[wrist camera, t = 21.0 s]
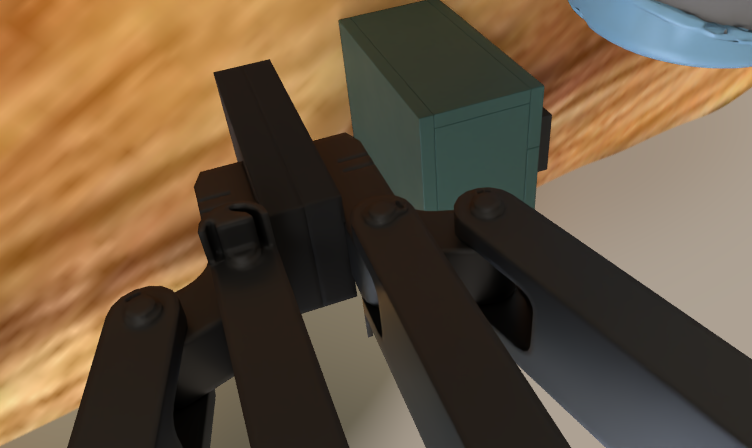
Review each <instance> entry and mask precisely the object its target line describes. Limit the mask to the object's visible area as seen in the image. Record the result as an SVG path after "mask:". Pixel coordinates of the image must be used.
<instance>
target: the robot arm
mask: <svg viewBox="0 0 752 448" xmlns="http://www.w3.org/2000/svg"><path fill="white" fill-rule="evenodd" d="M568 2H569V4H570V5H571V7H572V9H573V10H574V11H575V12H576V13H577V14H578V15H579V16H580V17H581V18H583V19H584V20H585V21H586V22H587V24H588V26H589V27H590V28H591V29H592V30H593V31H595V32H596V33H597V34H599V35H600V36H602V37H603V38H605V39H607V40H608V41H610V42H612V43H614V44H616V45H618V46H620V47H622V48H624V49H626V50H629V51H631V52H634V53H636V54H639V55H642V56H645V57H649V58H652V59H656V60H660V61H664V62H669V63H674V64H679V65H685V66H692V67H703V68H744V67H752V0H568ZM213 73H214V76H215V80H216V84H217V87H218V91H219V95H220V99H221V102H222V106H223V110H224V113H225V117H226V121H227V124H228V128H229V132H230V135H231V139H232V143H233V146H234V150H235V154H236V157H237V161H238V162H237V163H233V164H229V165H225V166H222V167H218V168H214V169H210V170H206V171H203V172H200V174H199V176H198V178H197V181H196V183H195V185H194V189H195V193H196V198H197V202H198V207H199V211H200V215H201V221H200V223H199V227H198V234H199V237H200V240H201V243H202V246H203V248H204V251H205V254H206V257H207V260H208V264H207V267H206V268H205V270H204V271H203V273H202V274H201V275H200V276H199V277H198V278H197V279H196V280H195V281H193V282H192V283H190V284H189V285H187V286H186V287H184V288H182V289H180V290H178V291H177V292H175V293H174V292H173V290H171V289H168V288H165V287H163V286H148V287H144V288H140V289H136V290H134V291H132V292H130V293H128V294H126V295H124V296H123V297H121V298H120V299H119V300H118V301H117V302H116V303H115V304H114V305H113V306H112V307H111V309H110V310H109V312H108V314H107V316H106V318H105V322H104V325H103V328H102V332H101V335H100V339H99V342H98V345H97V349H96V352H95V356H94V359H93V362H92V366H91V369H90V372H89V376H88V379H87V383H86V386H85V389H84V393H83V396H82V400H81V403H80V406H79V410H78V413H77V417H76V420H75V423H74V427H73V430H72V434H71V437H70V440H69V444H68V447H67V448H210V443H211V434H212V424H213V415H214V406H215V397H216V395H215V388H217V387H218V386H220V385H221V384H223V383H224V382H226V381H227V380H229V379H231V378H232V377H234V376H235V380H236V385H237V389H238V393H239V398H240V402H241V407H242V411H243V416H244V420H245V424H246V429H247V433H248V437H249V442H250V446H251V448H349V446H348V443H347V440H346V437H345V434H344V432H343V429H342V426H341V423H340V420H339V418H338V415H337V412H336V410H335V407H334V404H333V401H332V399H331V396H330V393H329V390H328V387H327V385H326V382H325V379H324V376H323V373H322V371H321V368H320V365H319V362H318V360H317V357H316V354H315V351H314V348H313V346H312V343H311V340H310V337H309V335H308V332H307V329H306V327H305V323H304V321H303V318H302V315H301V314H302V313H305V312H309V311H312V310H315V309H318V308H322V307H325V306H328V305H331V304H334V303H337V302H341V301H344V300H347V299H350V298H353V297H356V296H357V291H356V285H355V282H356V284H357V286H358V289H359V291H360V293H361V295H362V300H363V307H364V314H365V320H366V327H367V333H368V337H371V336H373V333H374V335H375V337H376V339H377V342H378V344H379V346H380V348H381V350H382V352H383V355H384V357H385V359H386V361H387V363H388V366H389V368H390V370H391V372H392V374H393V376H394V379H395V381H396V383H397V385H398V388H399V390H400V392H401V394H402V396H403V398H404V401H405V403H406V405H407V407H408V409H409V412H410V413H411V416H412V418H413V420H414V422H415V425H416V427H417V429H418V431H419V433H420V436H421V438H422V440H423V442H424V444H425V447H426V448H571V447H570V445H569V444H568V442H567V441H566V439H565V438H564V436H563V435H562V433H561V432H560V430H559V428H558V427H557V426H556V424H555V422H554V421H553V419H552V418H551V416H550V415H549V413H548V412H547V410H546V409H545V407H544V406H543V404H542V402H541V401H540V400H539V398H538V396H537V395H536V394H535V392H534V390H533V389H532V387H531V386H530V384H529V383H528V381H527V380H526V378H525V377H524V375H523V374H522V373H521V370H520V369H519V367H518V366H520V367H521V368H522V369H523V370H524V371H525V372H526V373H527V374H528V375H529V376H530V377H531V378H532V379H533V380H534V381H536V383H538V384H539V385H540V386H541V387H542V388H543V389H544V390H545V391H546V392H547V393H548V394H549V395H550V396H551V397H552V398H553V399H555V400H556V401H557V402H558V403H559V404H560V405H561V406H562V407H563V408H564V409H565V410H566V411H567V412H568V413H570V414H571V415H572V416H573V417H574V418H575V419H576V420H577V421H578V422H579V423H580V424H581V425H582V426H583V427H584V428H585V429H586V430H588V431H589V432H590V433H591V434H592V435H593V436H594V437H595V438H596V439H597V440H598V441H599V442H600V443H601V444H602V445H604V446H605V447H606V448H752V359H751V358H749V357H748V356H746V355H745V354H743V353H742V352H740V351H739V350H737V349H736V348H735V347H733V346H731V345H730V344H729V343H727V342H726V341H724V340H723V339H722V338H720V337H719V336H717V335H716V334H714V333H713V332H711V331H710V330H708V329H707V328H705V327H704V326H702V325H701V324H700V323H698V322H697V321H695V320H694V319H692V318H691V317H690V316H688V315H687V314H685V313H684V312H682V311H681V310H679V309H678V308H677V307H675V306H674V305H672V304H671V303H669V302H668V301H666V300H665V299H664V298H662V297H660V296H659V295H658V294H656V293H654V292H653V291H652V290H650V289H649V288H648V287H646V286H645V285H643V284H642V283H640V282H639V281H637V280H636V279H634V278H633V277H632V276H630V275H629V274H627V273H626V272H624V271H623V270H621V269H620V268H618V267H617V266H616V265H614V264H613V263H611V262H610V261H608V260H607V259H605V258H604V257H603V256H601V255H600V254H598V253H597V252H595V251H594V250H592V249H591V248H590V247H588V246H587V245H585V244H584V243H582V242H581V241H579V240H578V239H576V238H575V237H574V236H572V235H571V234H569V233H568V232H566V231H565V230H563V229H562V228H561V227H559V226H558V225H556V224H554V223H553V222H552V221H550V220H549V219H547V218H546V217H544V216H543V215H541V214H540V213H539V212H537V211H536V210H534V209H533V208H532V207H530V206H529V205H527V204H526V203H524V202H523V201H521V200H520V199H518V198H517V197H516V196H514V195H513V194H511V193H509V192H507V191H504V190H502V189H497V188H491V187H485V188H476V189H473V190H469V191H466V192H465V193H463V194H462V195H461V196H459V197H458V198H457V200H456V202H455V204H454V210H444V211H422V210H417V209H415V208H414V207H413V205H412V204H410V203H409V202H408V201H407V200H406V199H404V198H401V197H399V196H396V195H394V193H393V192H392V190H391V189H390V187H389V185H388V184H387V182H386V181H385V179H384V178H383V176H382V174H381V173H380V171H379V170H378V168H377V167H376V165H375V164H374V162H373V160H372V159H371V157H370V156H369V155H368V152H367V151H366V149H365V148H364V146H363V145H362V143H361V141H360V140H358V139H356V138H354V137H352V136H351V135H349V134H347V133H341V134H338V135H334V136H330V137H326V138H322V139H318V140H315V141H312V139H311V137H310V135H309V133H308V131H307V129H306V128H305V126H304V124H303V122H302V120H301V118H300V116H299V114H298V112H297V110H296V109H295V107H294V105H293V103H292V101H291V99H290V97H289V95H288V93H287V91H286V90H285V88H284V86H283V84H282V82H281V80H280V78H279V76H278V74H277V72H276V71H275V69H274V67H273V65H272V63H271V61H270V59H269V60H265V61H260V62H256V63H252V64H248V65H243V66H239V67H235V68H230V69H226V70H222V71H218V72H213ZM517 365H518V366H517Z"/></svg>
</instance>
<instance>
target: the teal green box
mask: <svg viewBox="0 0 752 448" xmlns="http://www.w3.org/2000/svg"><path fill="white" fill-rule="evenodd" d="M339 28H340V36H341V43H342V51H343V58H344V66H345V73H346V81H347V88H348V96H349V104H350V111H351V119H352V126H353V134H354V138H356V139H358V140H360V141H361V143H362V145H363V146H364V148H365V149H366V151H367V152H368V155H369V156H370V157H371V159H372V160H373V162H374V164H375V165H376V167H377V168H378V170H379V171H380V173H381V174H382V176H383V178H384V179H385V181H386V182H387V184H388V185H389V187H390V189H391V190H392V192H393V193H394V195H396V196H399V197H401V198H404V199H406V200H407V201H408V202H409V203H410V204H412V205H413V207H414V208H415V209H417V210H422V211H444V210H454V204H455V202H456V200H457V198H458V197H459V196H461V195H462V194H463V193H465V192H466V191H469V190H473V189H476V188H485V187H491V188H497V189H502V190H504V191H507V192H509V193H511V194H513V195H514V196H516V197H517V198H518V199H520V200H521V201H523V202H524V203H526V204H527V205H529V206H530V207H532V208H533V209H534V210H535V197H536V184H537V172H538V159H539V145H540V135H541V123H542V110H543V97H544V85H543V84H542V83H540V82H539V81H538V80H537V79H535V78H534V77H533V76H532V75H531V74H529V73H528V72H527V71H526V70H524V69H523V68H522V67H521V66H520V65H518V64H517V63H516V62H515V61H513V60H512V59H511V58H510V57H509V56H507V55H506V54H505V53H504V52H502V51H501V50H500V49H499V48H498V47H496V46H495V45H494V44H493V43H491V42H490V41H489V40H488V39H487V38H485V37H484V36H483V35H482V34H480V33H479V32H478V31H477V30H476V29H474V28H473V27H472V26H471V25H469V24H468V23H467V22H466V21H465V20H463V19H462V18H461V17H460V16H459V15H457V14H456V13H455V12H454V11H452V10H451V9H450V8H449V7H448V6H446V5H445V4H444V3H443V2H441V1H440V0H427V1H426V0H425V1H420V2H416V3H411V4H407V5H403V6H398V7H394V8H389V9H385V10H380V11H376V12H372V13H367V14H363V15H358V16H354V17H350V18H346V19H341V20H339Z"/></svg>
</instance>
